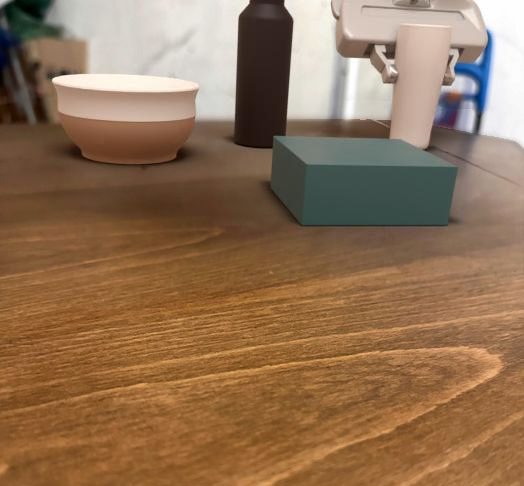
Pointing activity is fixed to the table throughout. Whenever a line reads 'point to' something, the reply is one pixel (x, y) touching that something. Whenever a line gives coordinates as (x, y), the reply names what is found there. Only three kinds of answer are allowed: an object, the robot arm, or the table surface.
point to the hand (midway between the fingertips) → (419, 81)
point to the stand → (361, 181)
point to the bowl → (126, 115)
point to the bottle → (262, 72)
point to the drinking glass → (418, 80)
